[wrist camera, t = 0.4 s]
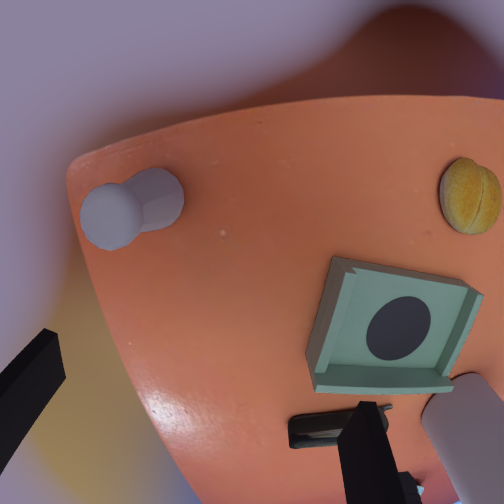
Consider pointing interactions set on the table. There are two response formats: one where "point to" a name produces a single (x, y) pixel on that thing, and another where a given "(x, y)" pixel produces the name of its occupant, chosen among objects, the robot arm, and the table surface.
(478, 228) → the bread roll
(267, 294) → the table surface
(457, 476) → the cylinder vase
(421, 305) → the green tray with hole
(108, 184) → the salt shaker
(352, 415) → the robot arm
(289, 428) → the black stapler
